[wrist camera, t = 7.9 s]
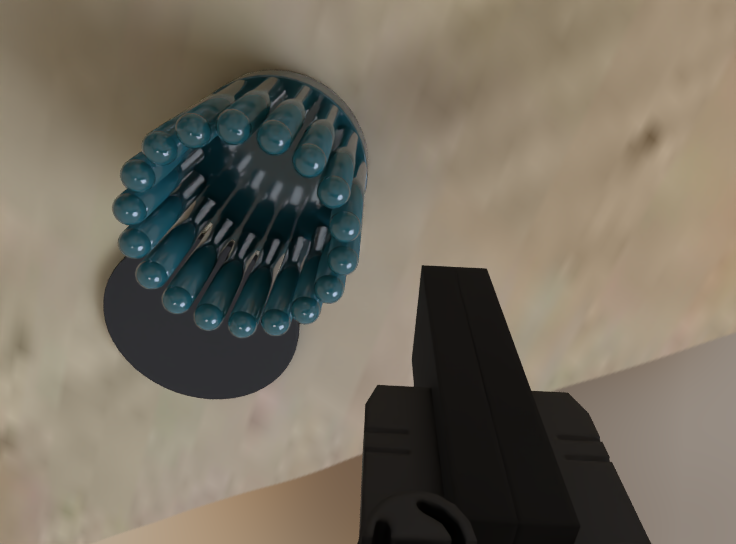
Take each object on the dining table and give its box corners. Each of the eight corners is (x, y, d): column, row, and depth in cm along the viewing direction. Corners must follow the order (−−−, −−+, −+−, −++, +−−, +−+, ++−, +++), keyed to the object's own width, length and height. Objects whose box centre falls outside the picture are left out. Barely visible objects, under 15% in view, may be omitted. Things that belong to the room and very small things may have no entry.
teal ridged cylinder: (375, 234, 27) (216, 246, 28) (358, 60, 23) (173, 78, 24) (372, 337, 19) (149, 351, 20) (345, 99, 15) (66, 125, 16)
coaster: (89, 227, 27) (83, 232, 27) (297, 238, 27) (295, 243, 27) (126, 388, 32) (122, 395, 32) (301, 397, 32) (299, 404, 32)
